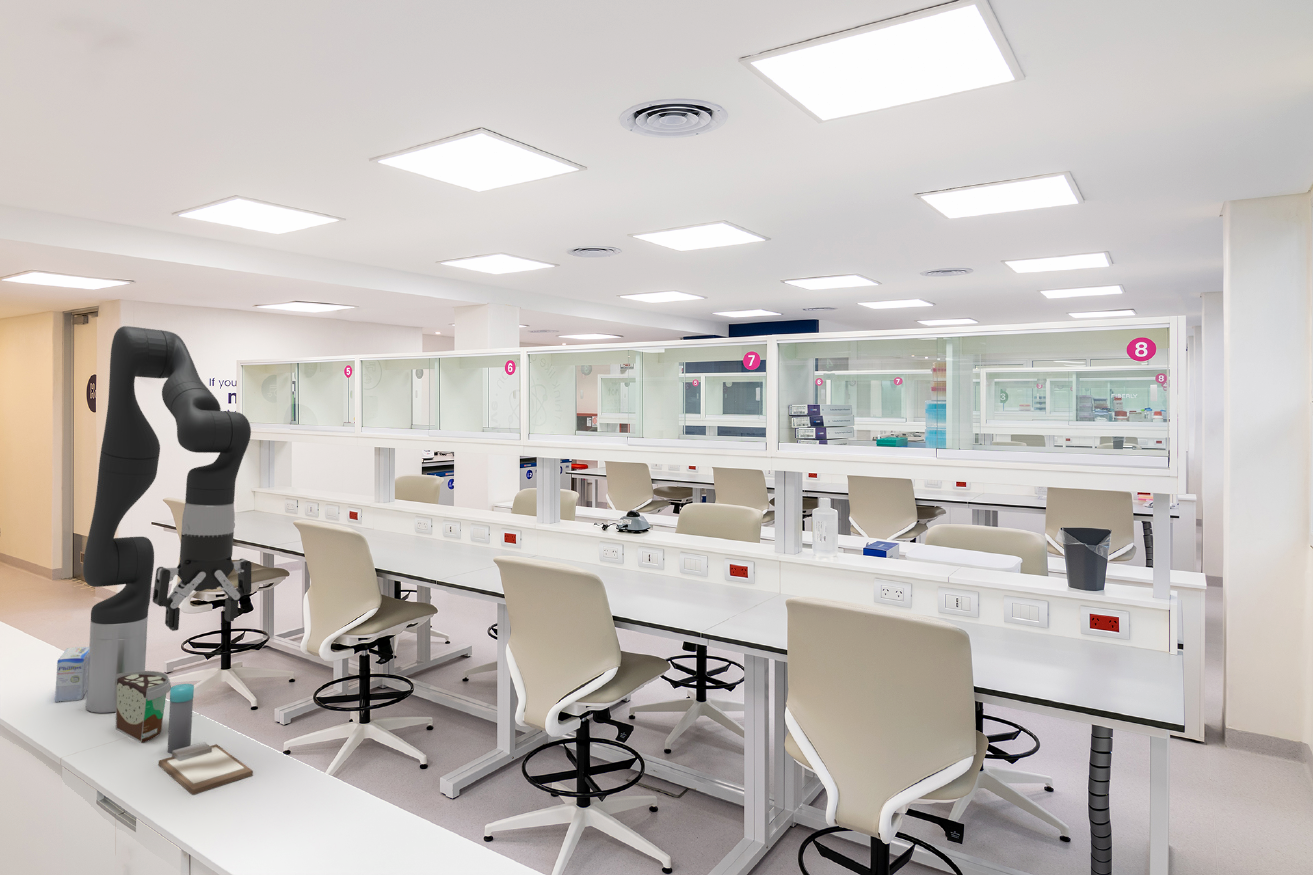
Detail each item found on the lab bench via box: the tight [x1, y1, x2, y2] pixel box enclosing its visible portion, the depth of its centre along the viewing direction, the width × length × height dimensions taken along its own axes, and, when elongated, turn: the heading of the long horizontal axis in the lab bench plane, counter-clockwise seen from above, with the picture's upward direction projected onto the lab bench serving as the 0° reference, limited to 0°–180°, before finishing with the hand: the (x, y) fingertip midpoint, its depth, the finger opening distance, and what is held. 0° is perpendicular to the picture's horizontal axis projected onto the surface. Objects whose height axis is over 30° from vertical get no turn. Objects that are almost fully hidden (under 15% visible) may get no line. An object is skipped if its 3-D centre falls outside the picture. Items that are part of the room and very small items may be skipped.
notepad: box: [158, 741, 254, 796], centre depth 123 cm, size 14×9×2 cm, turn 52°
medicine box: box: [54, 646, 89, 703], centre depth 150 cm, size 8×4×9 cm, turn 28°
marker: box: [166, 683, 195, 755], centre depth 130 cm, size 4×4×11 cm
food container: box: [114, 670, 172, 744], centre depth 136 cm, size 12×6×10 cm, turn 59°
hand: (201, 624), depth 124 cm, fingers open, 8 cm apart
